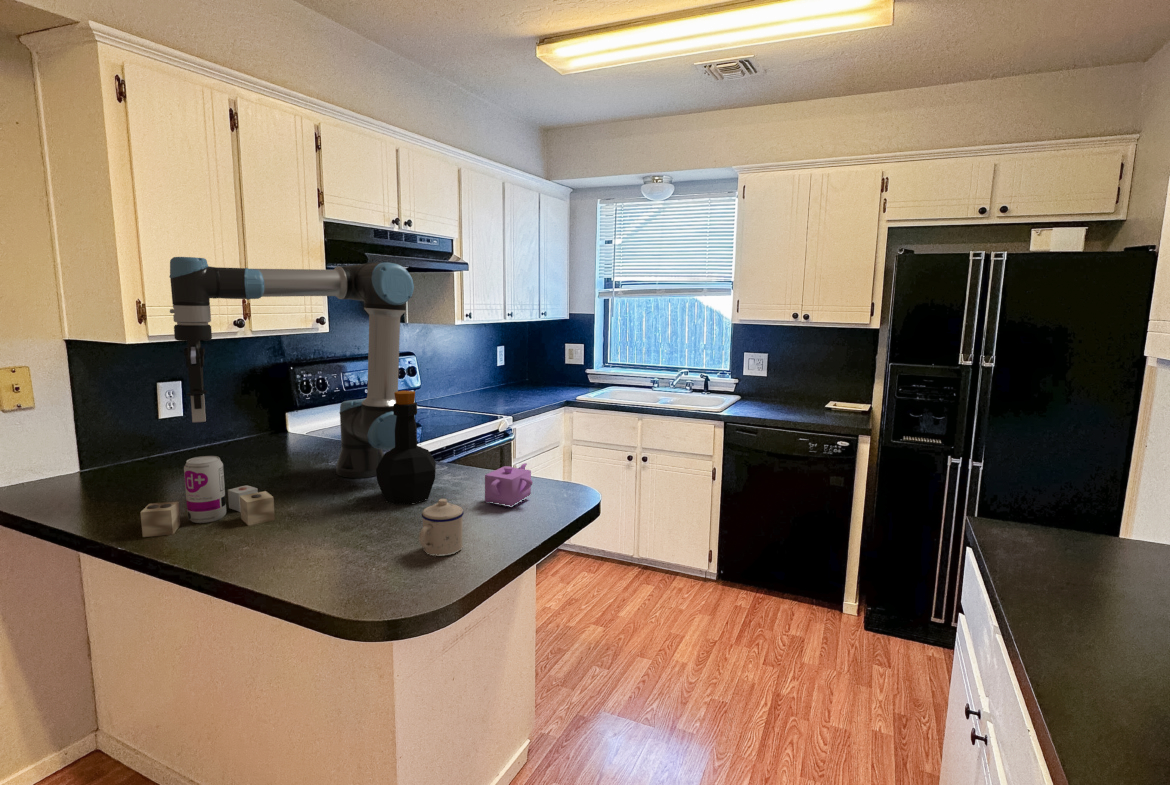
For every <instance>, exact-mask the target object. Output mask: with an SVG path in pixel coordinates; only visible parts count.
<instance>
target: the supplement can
mask: <svg viewBox="0 0 1170 785" xmlns="http://www.w3.org/2000/svg"><path fill="white" fill-rule="evenodd" d="M183 474H184V485H185V486H184V488H185V500H186V502H185V503H186V512H187V519H188V520H189V521H190V522H192V523H196V524H206V523H212V522H216V521H218V520H221V519H222V518H224V516H225V515H226V514H227V504H226V503H227V502H226V490H225V489H226V488H225V487H226V486H225V475H224V474H225V473H224V463H223V461H221V458H220V457H219V456H216V455H205V456H204V455H202V456H195V457H192V458H189V459H187V460H186V463H185V465H184V466H183Z"/></svg>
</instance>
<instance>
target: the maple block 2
mask: <svg viewBox="0 0 1170 785" xmlns="http://www.w3.org/2000/svg"><path fill="white" fill-rule="evenodd" d="M240 510H241V512H240V519H241V520H242V521H243V522H244V523H245V524H246V525H247V526H254V525H259V524H263V523H267V522H272V521H275V520H276V518H275V516H276V515H275V500H274V496H272V494H270V493H269V492H268V491H266V490H264V491H258V493H253V494H248V495H242V496H240Z"/></svg>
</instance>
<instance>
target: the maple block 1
mask: <svg viewBox="0 0 1170 785" xmlns="http://www.w3.org/2000/svg"><path fill="white" fill-rule="evenodd" d="M140 522H141V523H140V524H141V531H142V532H141V534H142V537H143V538H146V537H147V538H148V537H157V536H169V535H171V536H172V535H174V534H175V532H177V530H178V529H179V528H180V526H181V516H180V503H179V501H168V502H155V503H152V502H151V503H148V504H147V505H146V506H145V508H143V509H142V510H141V511H140Z"/></svg>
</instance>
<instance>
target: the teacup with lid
mask: <svg viewBox="0 0 1170 785" xmlns="http://www.w3.org/2000/svg"><path fill="white" fill-rule="evenodd" d="M464 512H465V511H464V510H463V508H462V507H461V506H459V505H457V504H453V503H450V502H448V500H447V498H440V499H439V500H438V501H437V502H436V503H434V504H432V505H430V506H427V507H425V508H424V509H423V510H422V513H421V517H422V528H421V530H420V532H419V534H418V542H419V544H420V546H421V547H422V548H423V552H424V551H425V552H427V553H429V554H435V555H436V554H437V555H439V554H448V553H452V552H455V551H457V550H459V549H461V548H462V549H463V547H462V546H464V543H463V532H464V530H463V528H464V527H463V516H464ZM425 552H424V553H425Z"/></svg>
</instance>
